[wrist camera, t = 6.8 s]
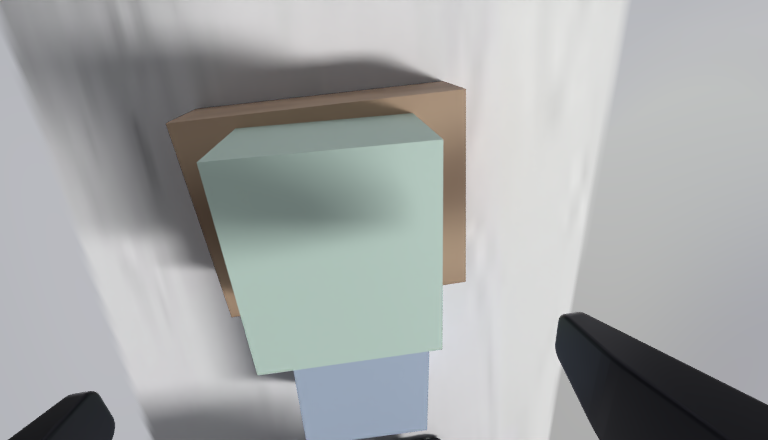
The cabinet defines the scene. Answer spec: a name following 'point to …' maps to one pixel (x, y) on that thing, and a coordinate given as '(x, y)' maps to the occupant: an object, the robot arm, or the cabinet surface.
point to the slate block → (364, 397)
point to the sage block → (331, 238)
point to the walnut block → (427, 101)
